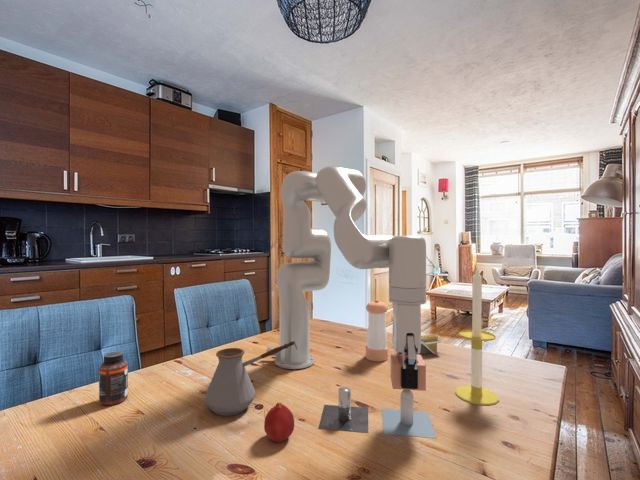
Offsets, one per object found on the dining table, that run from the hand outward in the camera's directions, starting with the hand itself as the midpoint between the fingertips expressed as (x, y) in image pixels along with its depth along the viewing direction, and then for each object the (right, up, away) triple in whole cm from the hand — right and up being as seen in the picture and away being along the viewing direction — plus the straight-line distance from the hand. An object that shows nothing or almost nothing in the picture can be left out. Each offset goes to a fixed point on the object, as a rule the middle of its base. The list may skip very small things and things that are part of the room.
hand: (407, 379), depth 71 cm
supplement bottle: (-68, -10, +11) cm, 70 cm away
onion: (-26, -10, -5) cm, 28 cm away
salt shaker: (+1, -10, +41) cm, 43 cm away
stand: (-13, -10, +2) cm, 16 cm away
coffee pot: (-34, -10, +9) cm, 37 cm away
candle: (+21, -10, +14) cm, 27 cm away
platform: (+19, -10, +45) cm, 50 cm away
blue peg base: (0, -10, 0) cm, 10 cm away
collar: (0, -1, 0) cm, 1 cm away
